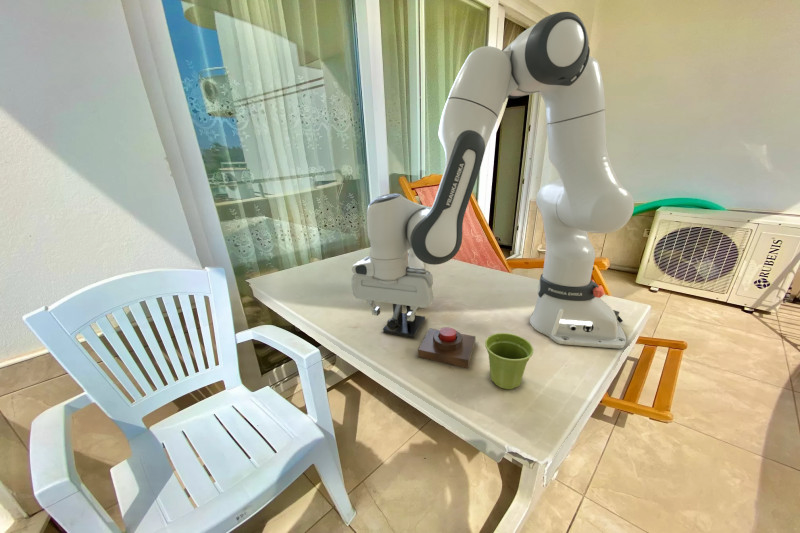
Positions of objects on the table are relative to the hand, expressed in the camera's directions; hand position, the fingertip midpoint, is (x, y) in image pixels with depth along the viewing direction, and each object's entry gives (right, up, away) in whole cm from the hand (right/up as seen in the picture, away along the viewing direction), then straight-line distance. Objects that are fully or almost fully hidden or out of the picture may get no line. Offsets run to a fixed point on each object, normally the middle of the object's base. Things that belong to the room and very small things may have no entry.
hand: (393, 317), depth 76 cm
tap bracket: (+3, -4, +11) cm, 12 cm away
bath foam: (+6, 0, +23) cm, 24 cm away
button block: (+13, -8, -1) cm, 16 cm away
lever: (+2, +1, +5) cm, 6 cm away
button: (+13, -5, -2) cm, 14 cm away
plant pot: (+24, -12, -11) cm, 29 cm away
